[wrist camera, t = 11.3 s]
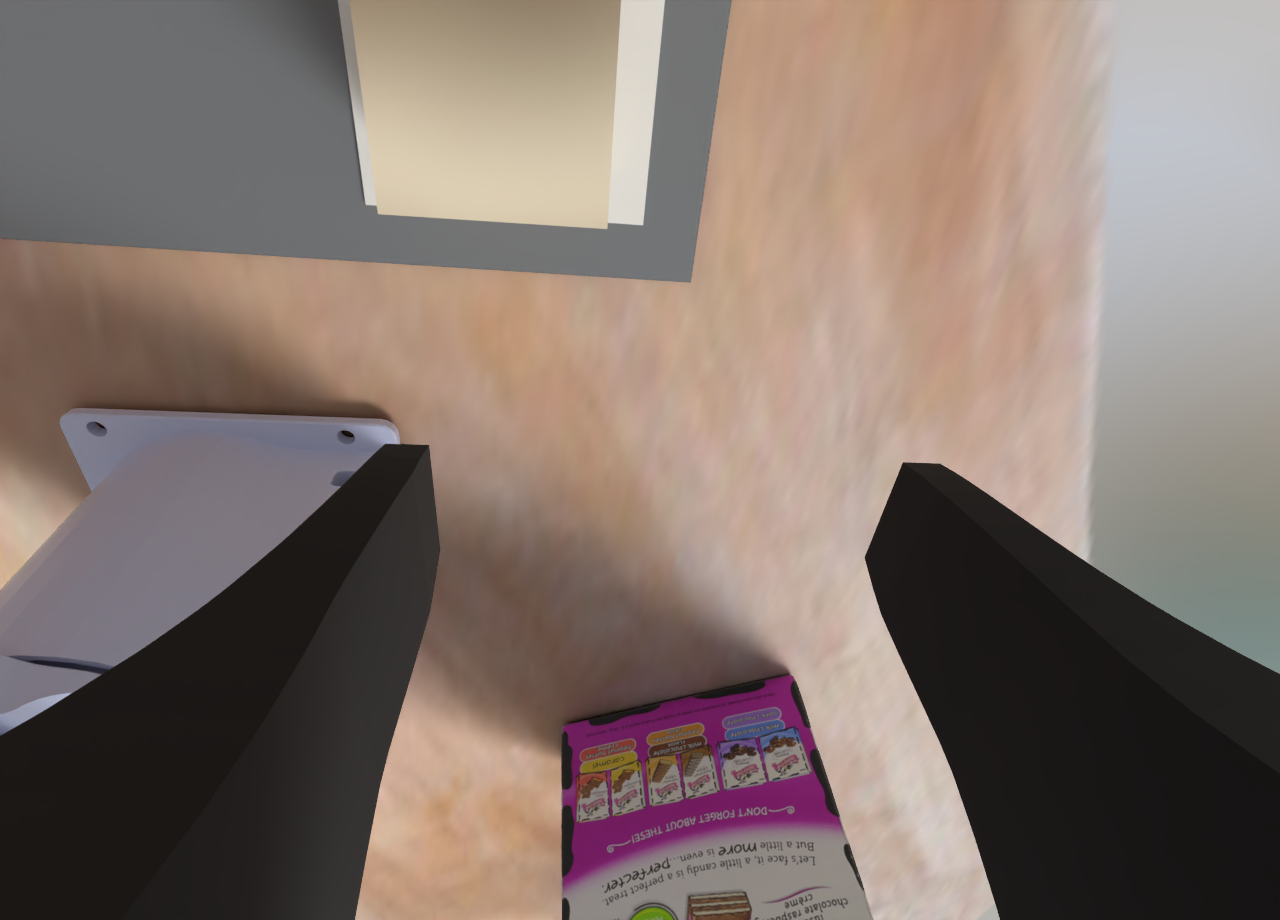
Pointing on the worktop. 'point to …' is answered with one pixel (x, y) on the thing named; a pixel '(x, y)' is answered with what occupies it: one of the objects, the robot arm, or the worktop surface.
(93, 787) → the robot arm
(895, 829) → the worktop surface
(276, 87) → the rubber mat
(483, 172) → the green and cream block
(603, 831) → the candy bar box
